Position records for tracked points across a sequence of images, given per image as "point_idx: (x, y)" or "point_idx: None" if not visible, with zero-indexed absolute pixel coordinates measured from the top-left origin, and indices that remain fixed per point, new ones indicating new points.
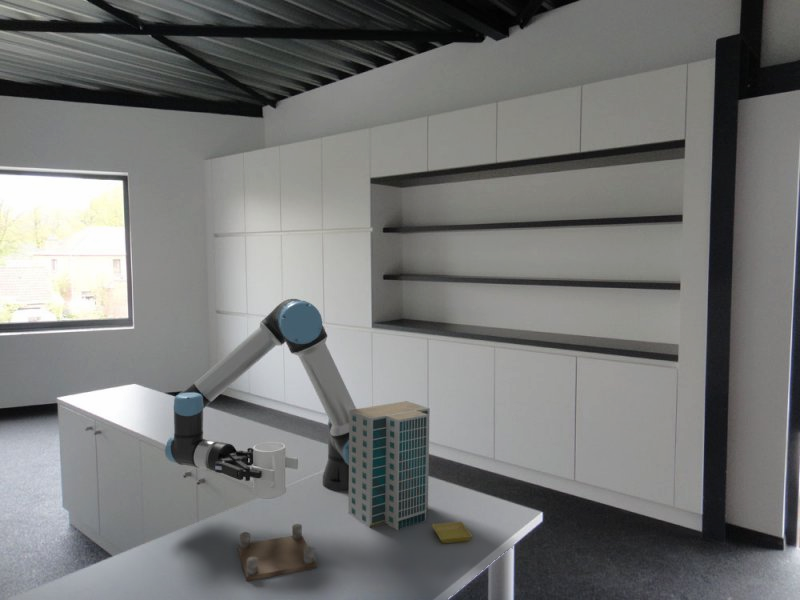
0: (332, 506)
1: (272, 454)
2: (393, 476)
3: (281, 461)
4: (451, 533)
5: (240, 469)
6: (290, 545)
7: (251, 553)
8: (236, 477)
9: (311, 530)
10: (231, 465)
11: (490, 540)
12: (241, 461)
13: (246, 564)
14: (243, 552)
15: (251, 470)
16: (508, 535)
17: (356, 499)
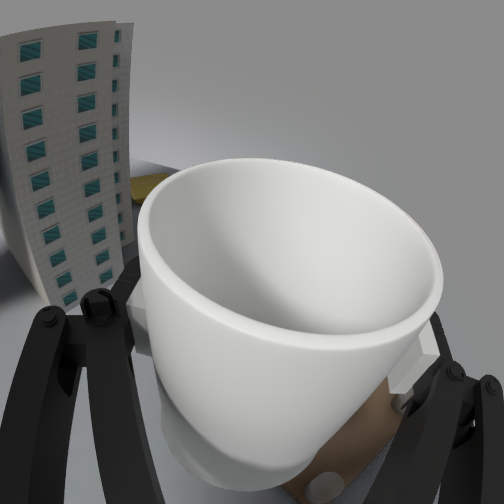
0: (15, 355)
1: (369, 209)
2: (117, 152)
3: (291, 235)
4: (144, 192)
5: (495, 384)
6: None
7: (343, 454)
8: (471, 434)
9: (152, 379)
10: (489, 489)
11: (159, 170)
12: (395, 501)
13: (386, 433)
14: (346, 475)
15: (441, 353)
16: (145, 161)
17: (72, 266)
